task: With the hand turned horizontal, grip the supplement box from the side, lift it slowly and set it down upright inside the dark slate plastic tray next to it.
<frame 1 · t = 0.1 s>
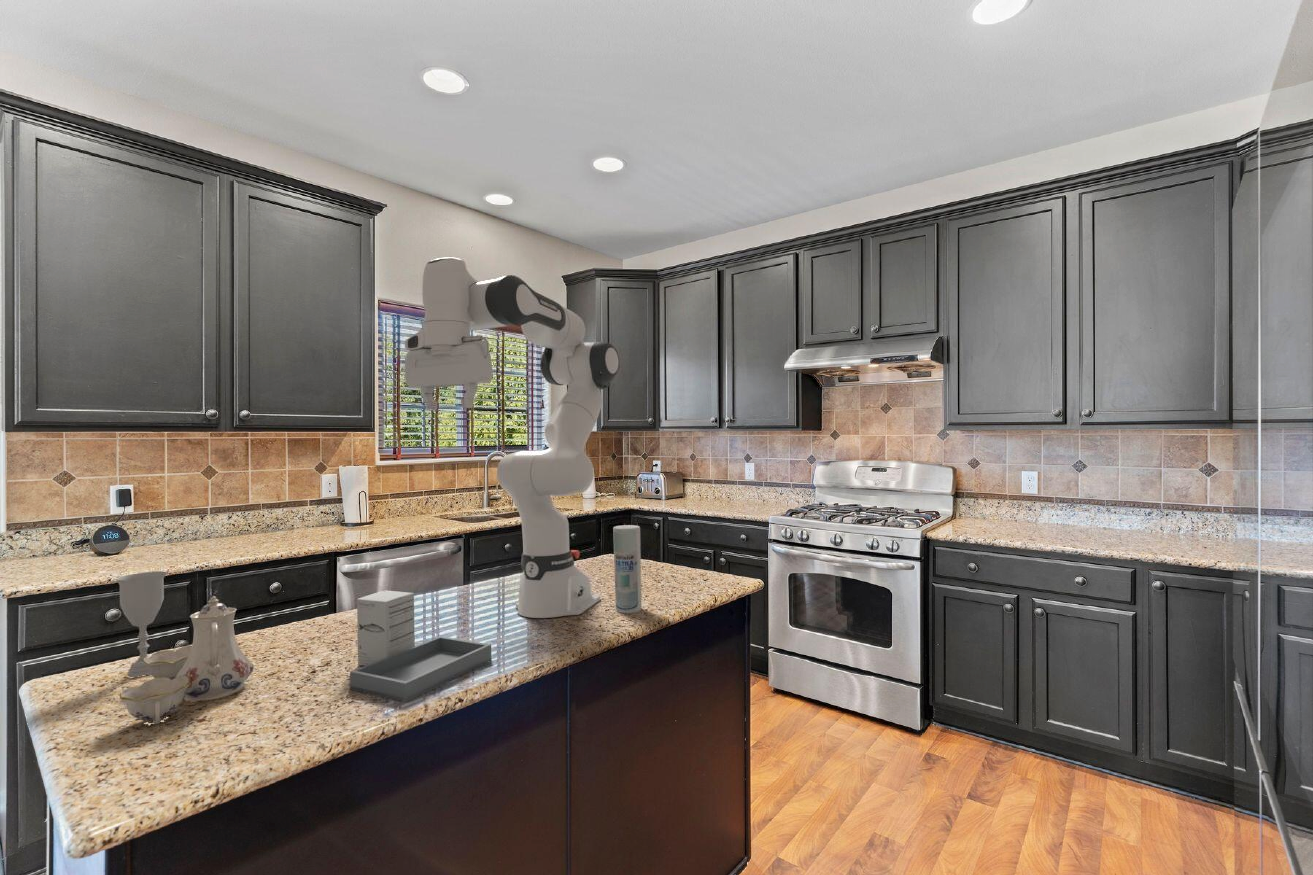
hand: (449, 409, 121), 48 cm above the counter, tool pointing down, fingers open, 8 cm apart
supplement box: (387, 662, 116), on the counter
chalice: (143, 673, 113), on the counter
tray: (424, 674, 109), on the counter
spray can: (628, 610, 148), on the counter
chinaware: (193, 697, 102), on the counter
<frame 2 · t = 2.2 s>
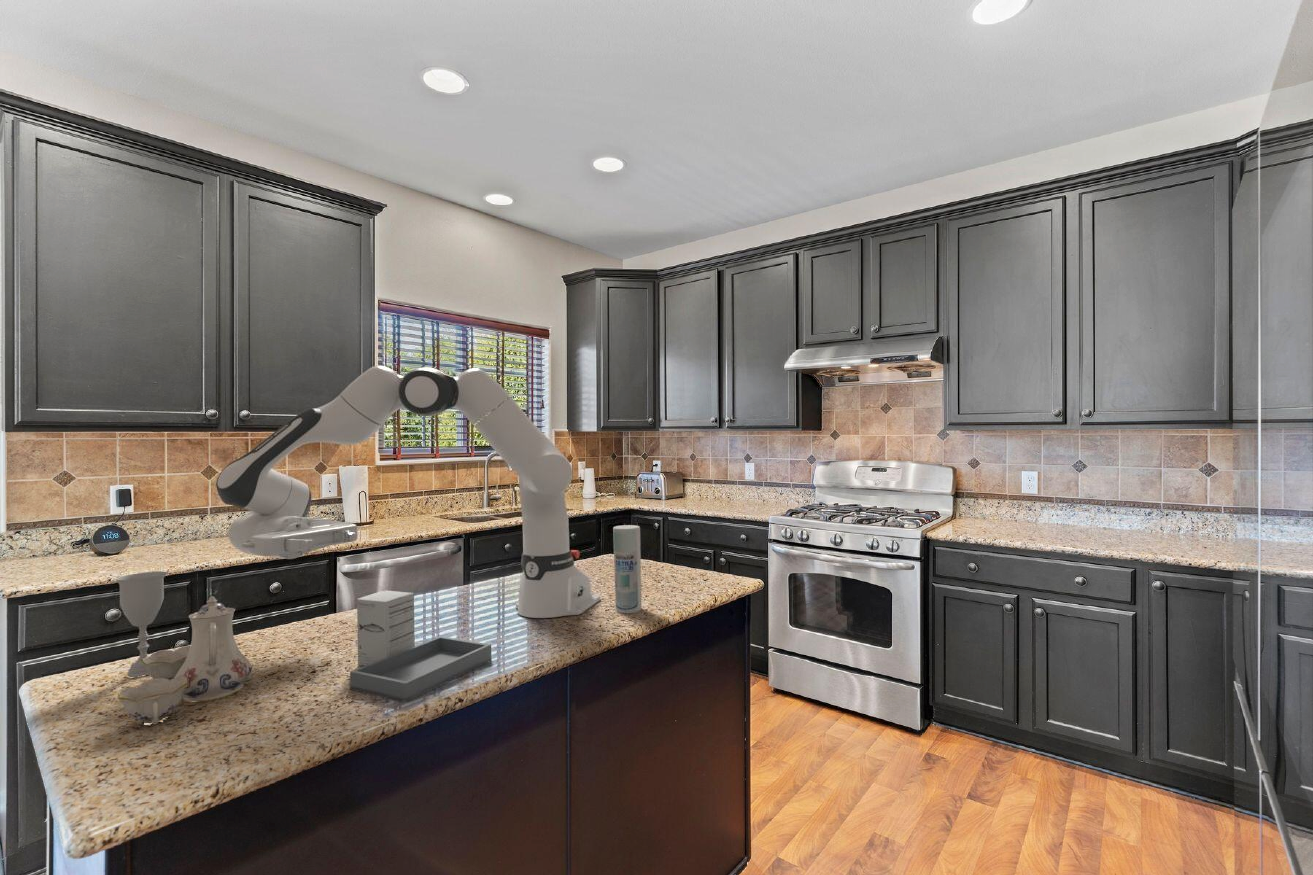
hand: (332, 540, 123), 22 cm above the counter, tool horizontal, fingers open, 8 cm apart
nothing on the counter moved.
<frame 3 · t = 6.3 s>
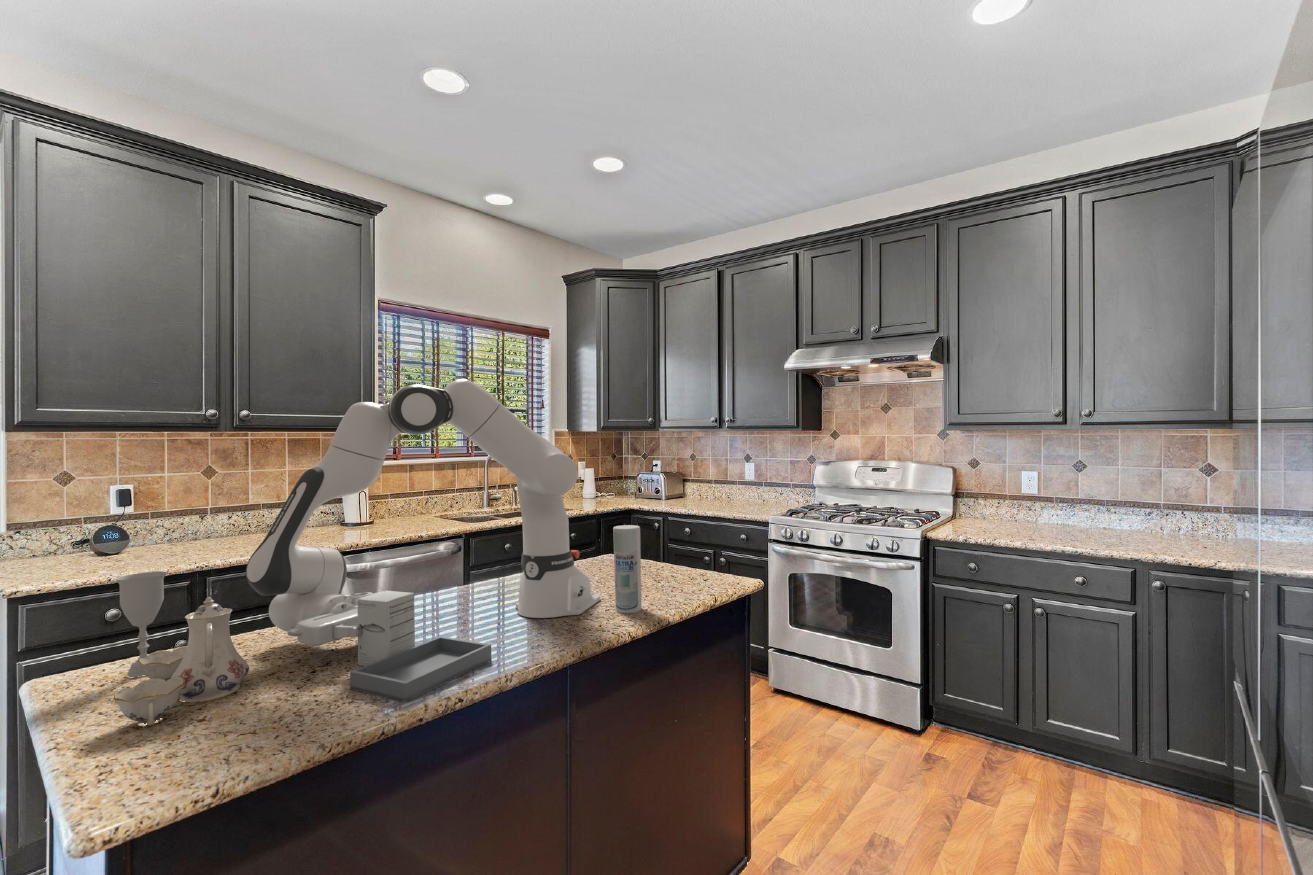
hand: (380, 624, 117), 7 cm above the counter, tool horizontal, fingers open, 8 cm apart
supplement box: (387, 662, 116), on the counter, touching gripper
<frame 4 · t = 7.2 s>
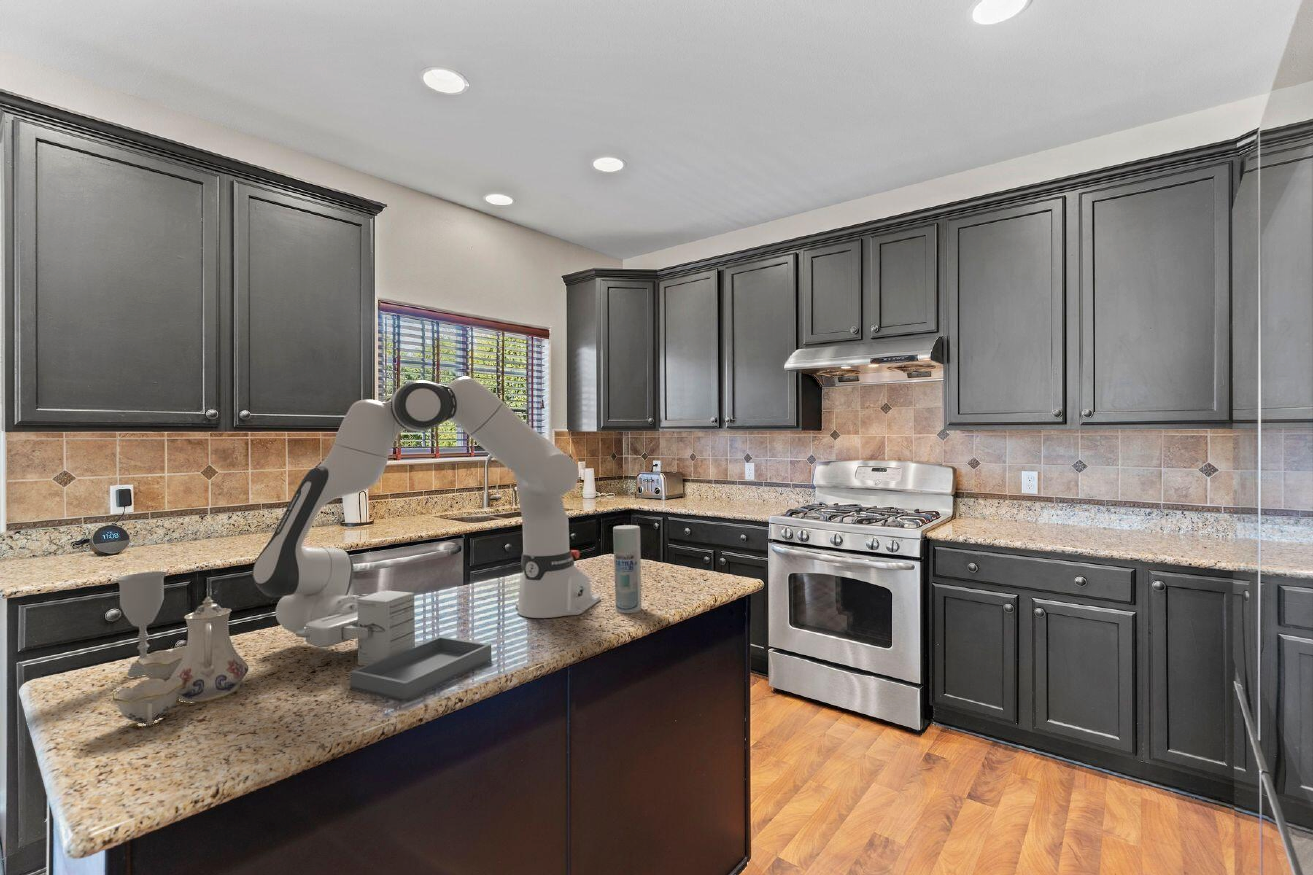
hand: (389, 625, 116), 7 cm above the counter, tool horizontal, fingers closed on supplement box, 8 cm apart
supplement box: (387, 662, 116), on the counter, touching gripper
everything else where it was.
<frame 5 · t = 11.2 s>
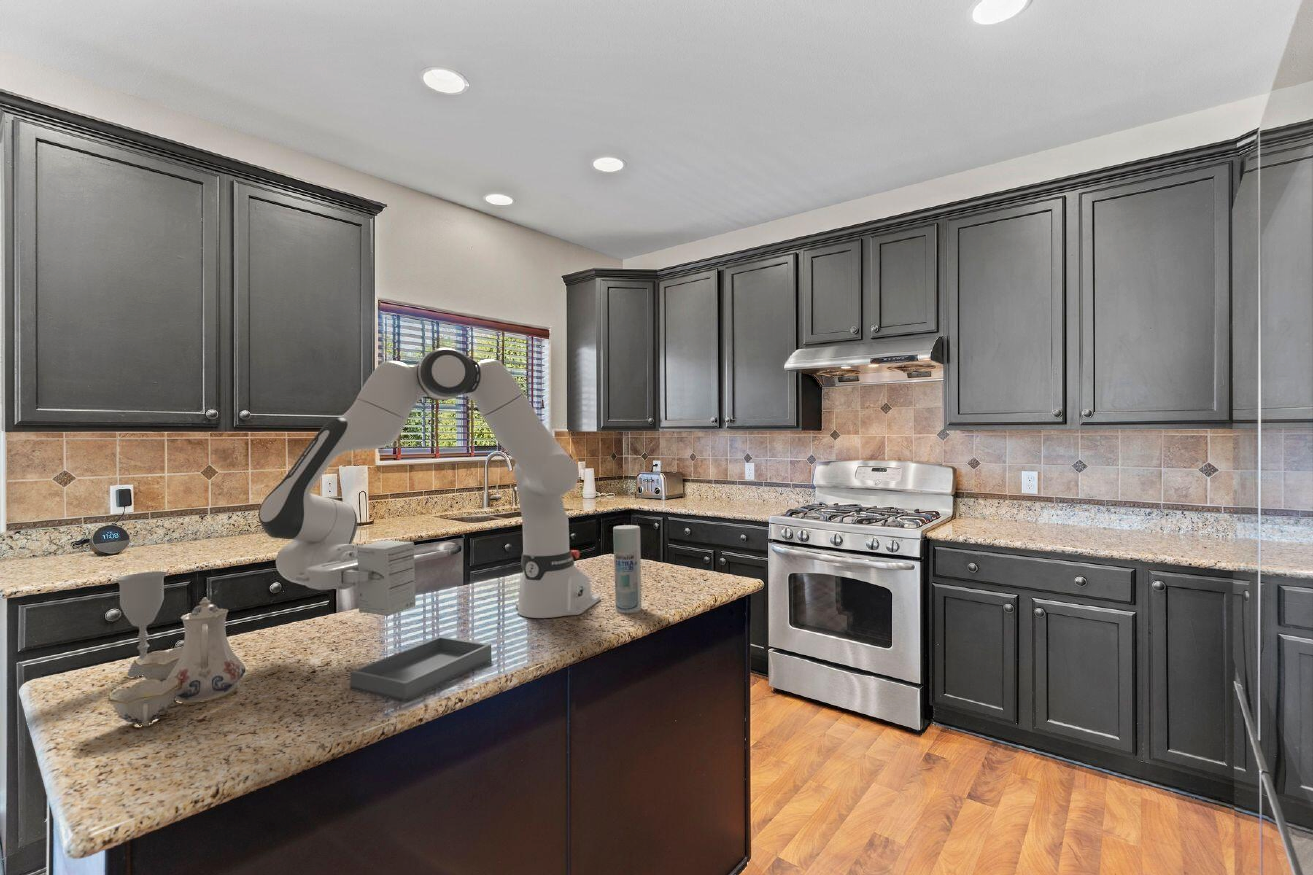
hand: (389, 571, 116), 17 cm above the counter, tool horizontal, fingers closed on supplement box, 7 cm apart
supplement box: (388, 610, 116), point 10 cm above the counter, touching gripper
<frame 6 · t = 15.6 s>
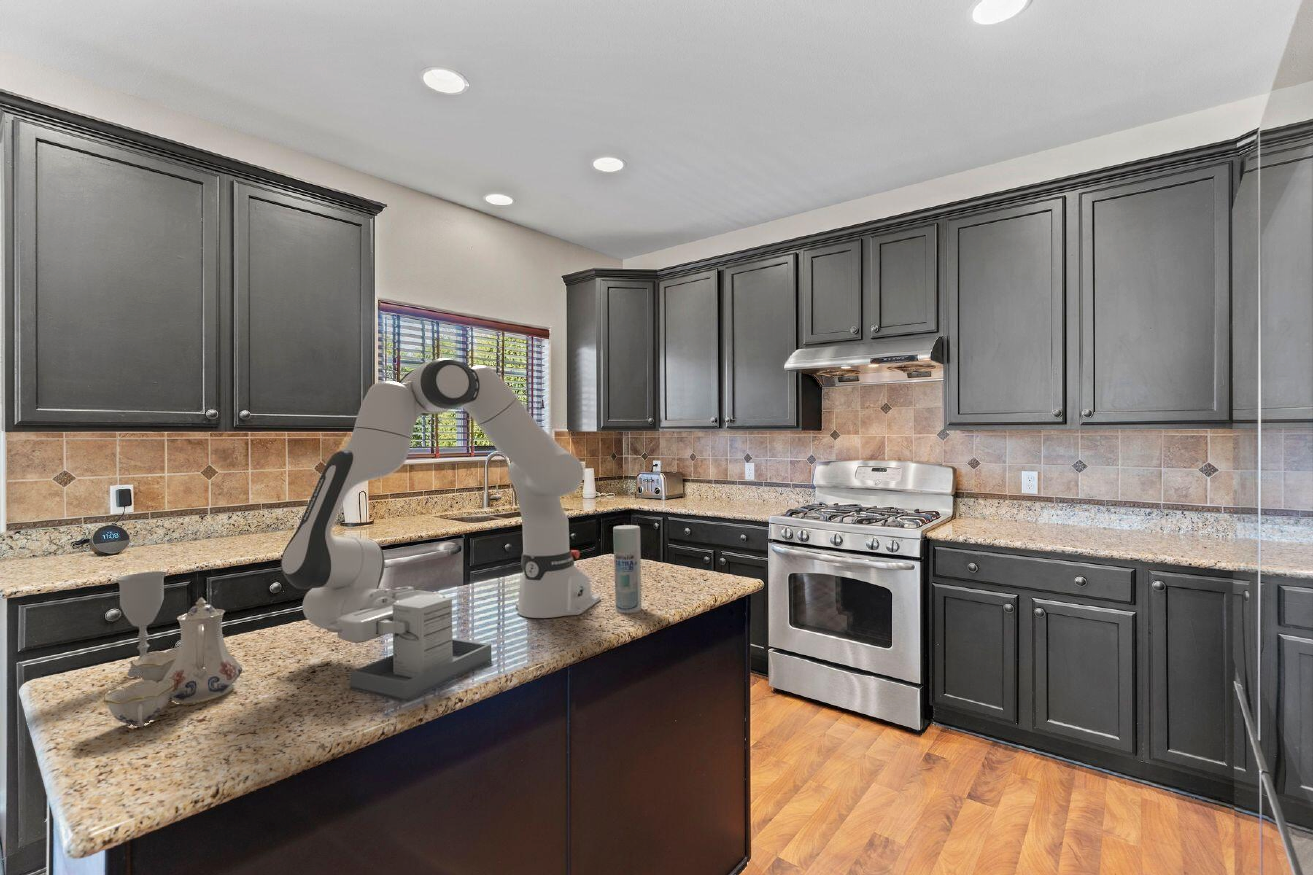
hand: (426, 620, 109), 10 cm above the counter, tool horizontal, fingers closed on supplement box, 7 cm apart
supplement box: (423, 672, 109), resting on tray, touching gripper
when the fingers open (9 cm above the counter, at t = 16.5 s): supplement box stays where it is, resting on tray.
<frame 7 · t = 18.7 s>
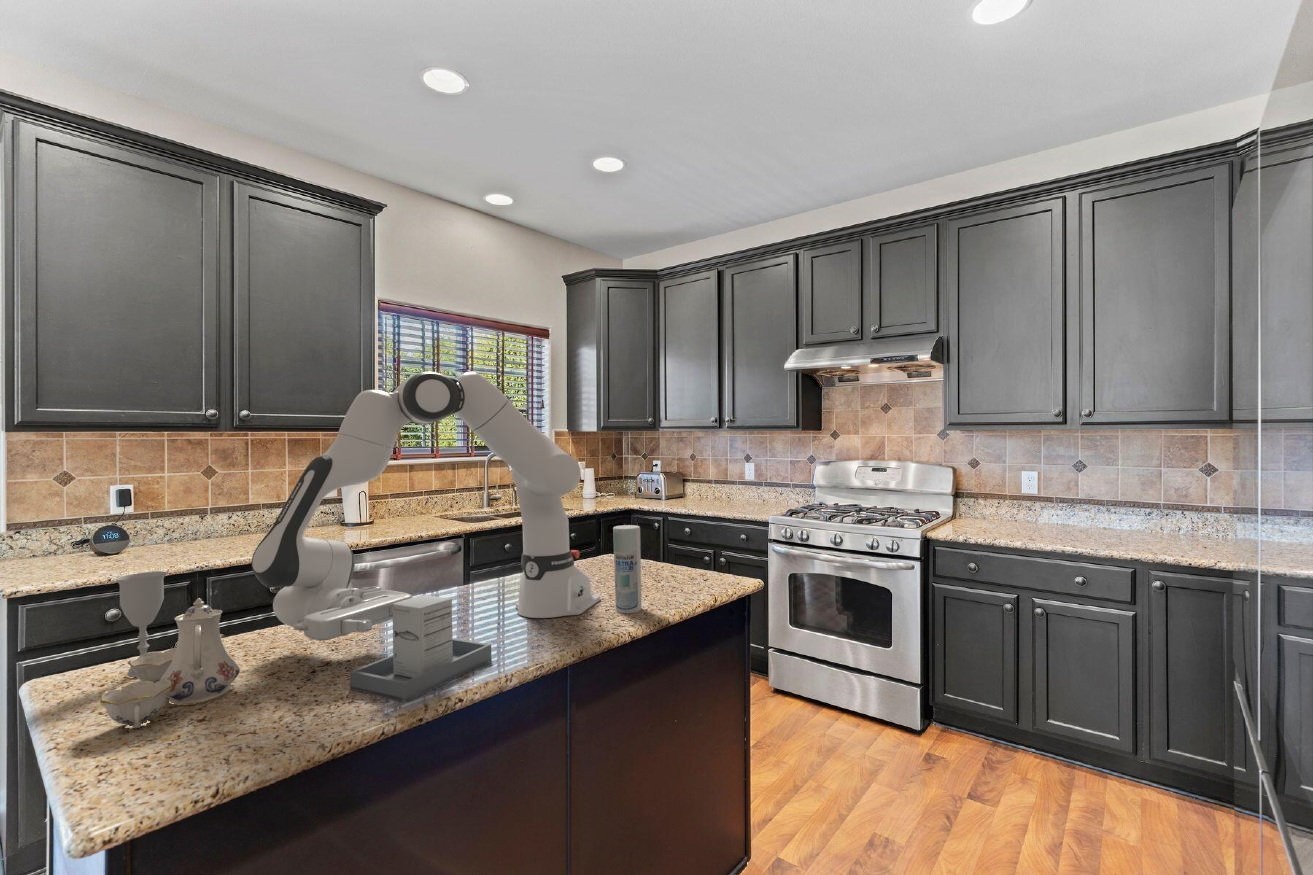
hand: (390, 619, 113), 9 cm above the counter, tool horizontal, fingers open, 8 cm apart
supplement box: (423, 672, 109), resting on tray
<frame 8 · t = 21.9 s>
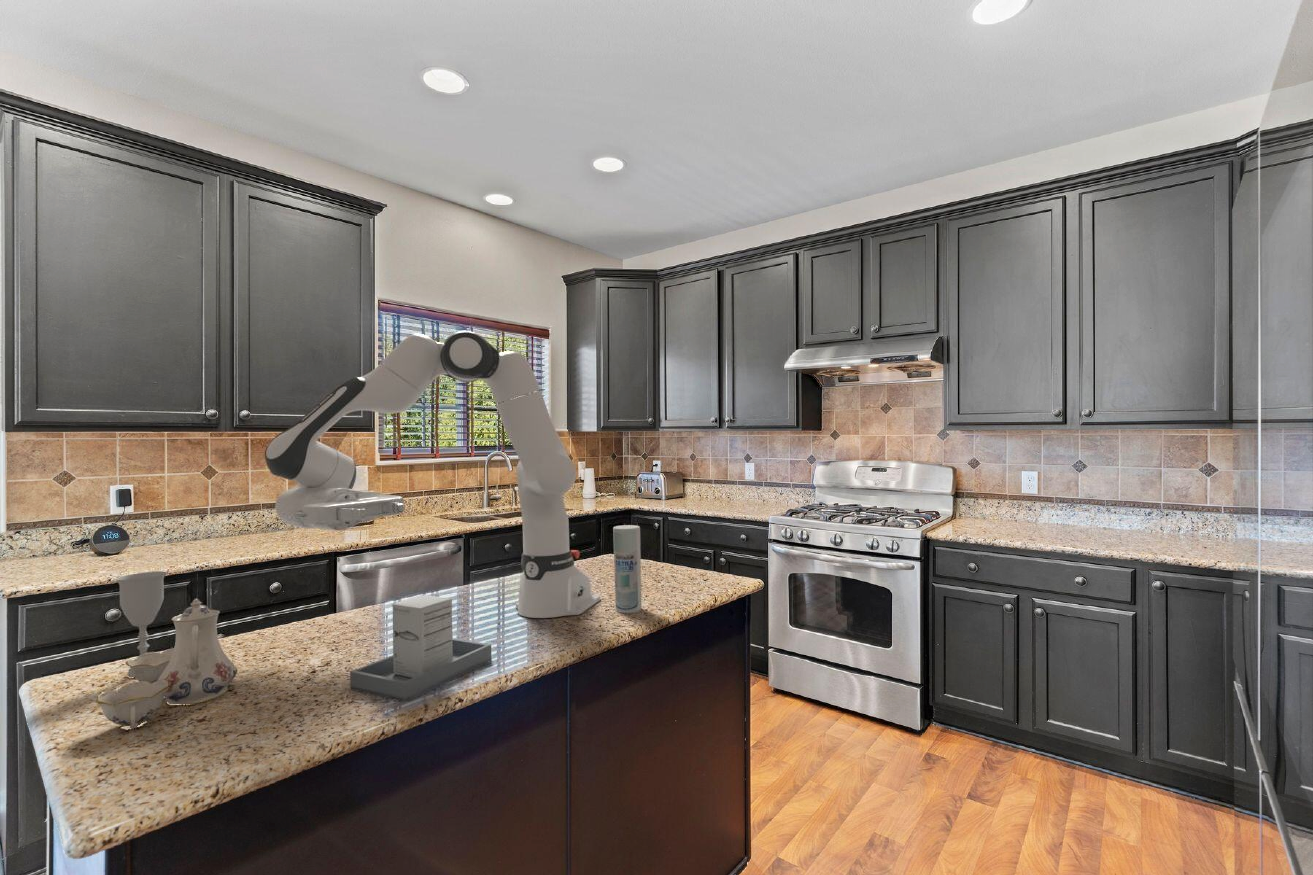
hand: (382, 510, 122), 28 cm above the counter, tool horizontal, fingers open, 8 cm apart
at the end: supplement box inside the target area on the tray (0.2 cm from its centre), point 0.4 cm above the tray's base; supplement box tilted 0°; the gripper is holding nothing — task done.
